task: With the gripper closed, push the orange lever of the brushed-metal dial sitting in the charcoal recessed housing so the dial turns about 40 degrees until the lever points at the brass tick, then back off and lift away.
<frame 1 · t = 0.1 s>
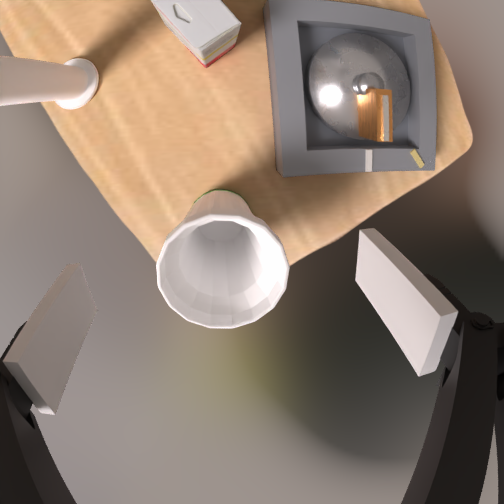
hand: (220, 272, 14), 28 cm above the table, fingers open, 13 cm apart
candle: (76, 83, 32), on the table
cup: (220, 218, 43), on the table
dial: (370, 85, 31), point 5 cm above the table, hinge at 0.0°
housing: (351, 86, 36), on the table
ink box: (200, 34, 31), on the table
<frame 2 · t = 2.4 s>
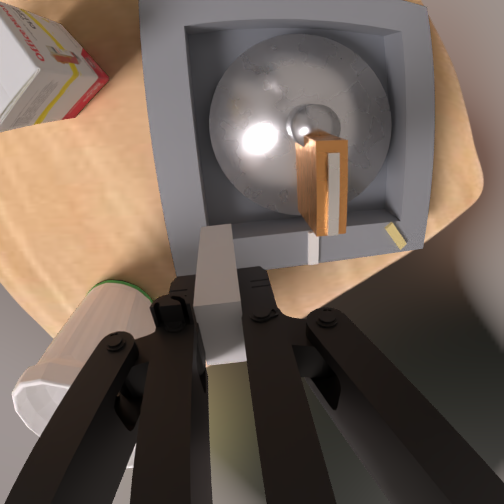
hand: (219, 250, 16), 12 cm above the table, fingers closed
cup: (121, 311, 31), on the table
dial: (314, 127, 20), point 5 cm above the table, hinge at 0.0°
housing: (295, 121, 24), on the table
ink box: (67, 68, 20), on the table
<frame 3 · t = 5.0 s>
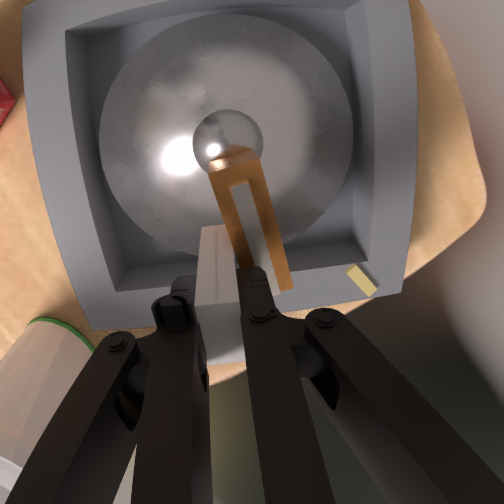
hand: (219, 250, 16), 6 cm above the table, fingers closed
cup: (60, 348, 26), on the table
dial: (227, 142, 14), point 5 cm above the table, hinge at 10.9°, touching gripper
housing: (225, 132, 19), on the table
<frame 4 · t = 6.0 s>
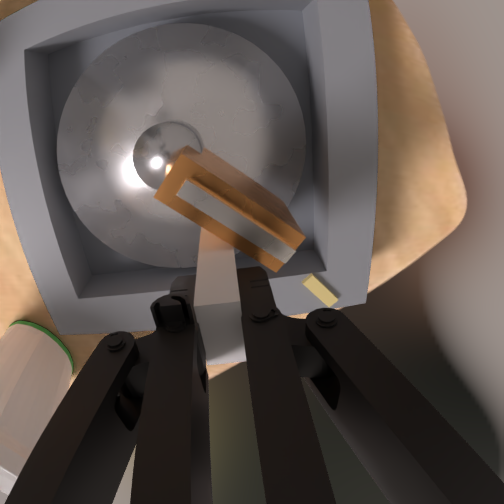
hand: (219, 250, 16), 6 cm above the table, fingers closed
cup: (39, 350, 26), on the table
dial: (168, 154, 14), point 5 cm above the table, hinge at 48.9°, touching gripper
housing: (181, 141, 19), on the table
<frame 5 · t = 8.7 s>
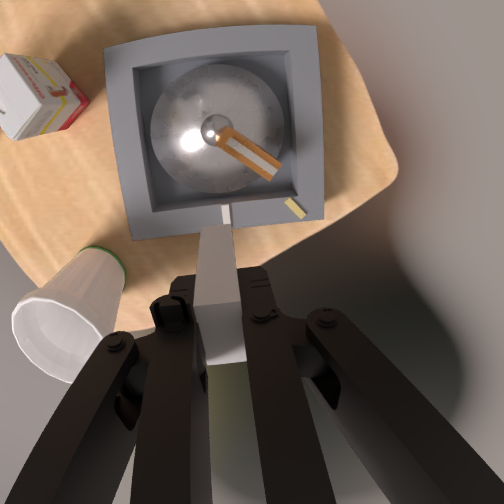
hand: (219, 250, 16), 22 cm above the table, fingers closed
cup: (98, 272, 41), on the table
dial: (217, 130, 29), point 5 cm above the table, hinge at 49.8°
housing: (217, 126, 34), on the table
ink box: (60, 94, 29), on the table
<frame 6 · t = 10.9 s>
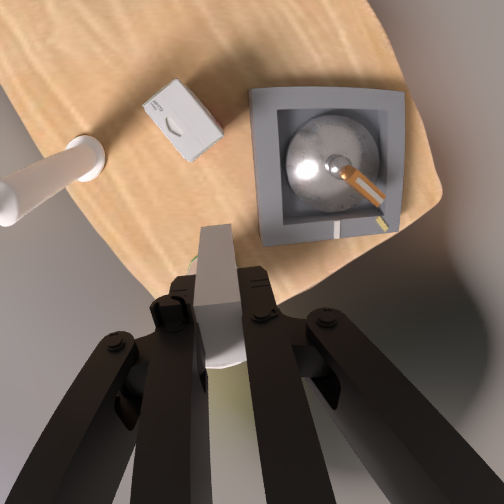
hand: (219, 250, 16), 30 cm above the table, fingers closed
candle: (85, 157, 41), on the table
dial: (340, 167, 40), point 5 cm above the table, hinge at 49.8°
housing: (326, 159, 45), on the table
ink box: (192, 116, 40), on the table
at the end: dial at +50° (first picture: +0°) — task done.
